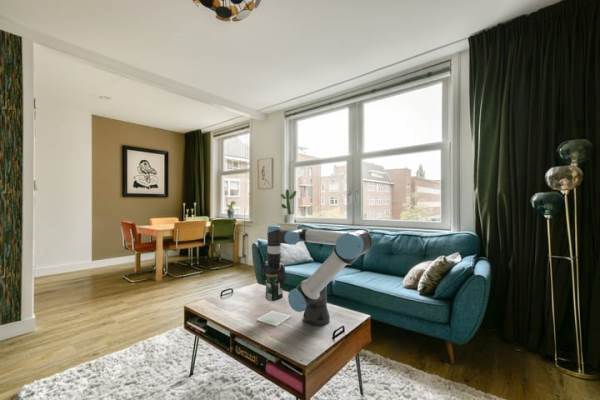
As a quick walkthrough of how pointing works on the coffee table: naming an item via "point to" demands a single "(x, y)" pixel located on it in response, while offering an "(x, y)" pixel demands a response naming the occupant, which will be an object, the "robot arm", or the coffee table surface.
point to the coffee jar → (272, 284)
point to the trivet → (274, 318)
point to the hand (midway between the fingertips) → (274, 292)
